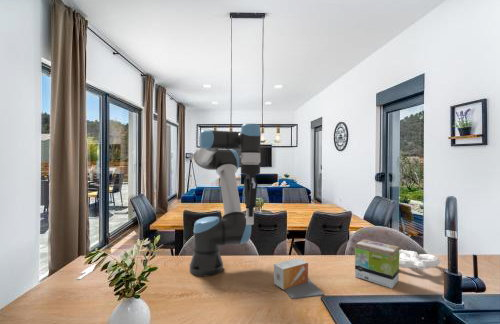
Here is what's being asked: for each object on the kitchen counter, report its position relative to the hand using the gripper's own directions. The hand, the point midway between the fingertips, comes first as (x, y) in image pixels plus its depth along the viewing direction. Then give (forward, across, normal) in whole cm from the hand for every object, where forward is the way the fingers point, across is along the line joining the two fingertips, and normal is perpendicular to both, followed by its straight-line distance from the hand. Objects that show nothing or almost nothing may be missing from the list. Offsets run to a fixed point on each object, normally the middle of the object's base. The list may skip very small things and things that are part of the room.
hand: (249, 224), depth 101 cm
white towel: (+25, -6, +78) cm, 83 cm away
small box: (+21, +2, +11) cm, 24 cm away
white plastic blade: (+26, -30, -68) cm, 79 cm away
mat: (+25, +4, +20) cm, 32 cm away
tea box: (+25, +4, +55) cm, 60 cm away
